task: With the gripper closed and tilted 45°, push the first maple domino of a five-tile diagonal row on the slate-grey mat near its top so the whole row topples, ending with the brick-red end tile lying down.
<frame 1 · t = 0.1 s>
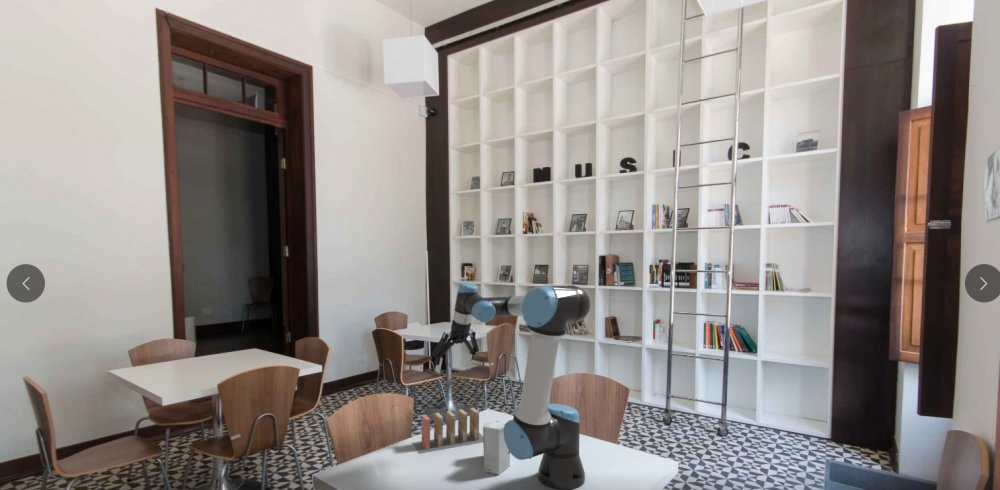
hand: (452, 369, 178), 28 cm above the table, tool tilted 20°, fingers open, 13 cm apart
domino 2: (462, 440, 176), resting on mat
skincare box 2: (492, 459, 159), on the table
domino 4: (438, 444, 171), resting on mat
domino 5: (425, 446, 169), resting on mat
skincare box: (497, 469, 152), on the table
domino 1: (474, 437, 178), resting on mat
domino 3: (450, 442, 174), resting on mat
mat: (450, 443, 174), on the table
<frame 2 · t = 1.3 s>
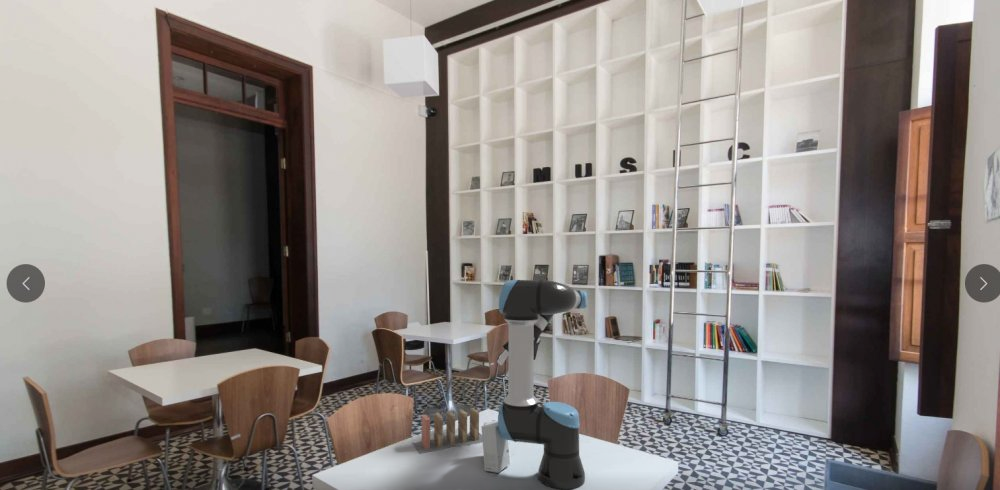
hand: (508, 367, 185), 27 cm above the table, tool tilted 40°, fingers open, 13 cm apart
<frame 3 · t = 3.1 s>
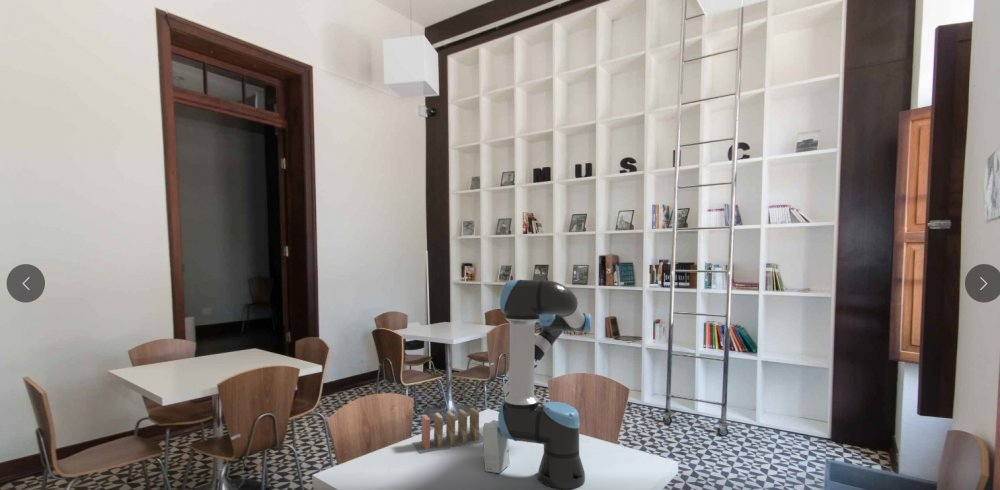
hand: (503, 391, 185), 17 cm above the table, tool tilted 45°, fingers closed
skincare box 2: (492, 459, 159), on the table, touching skincare box
skincare box: (497, 468, 152), on the table, touching arm, skincare box 2
everything else where it was.
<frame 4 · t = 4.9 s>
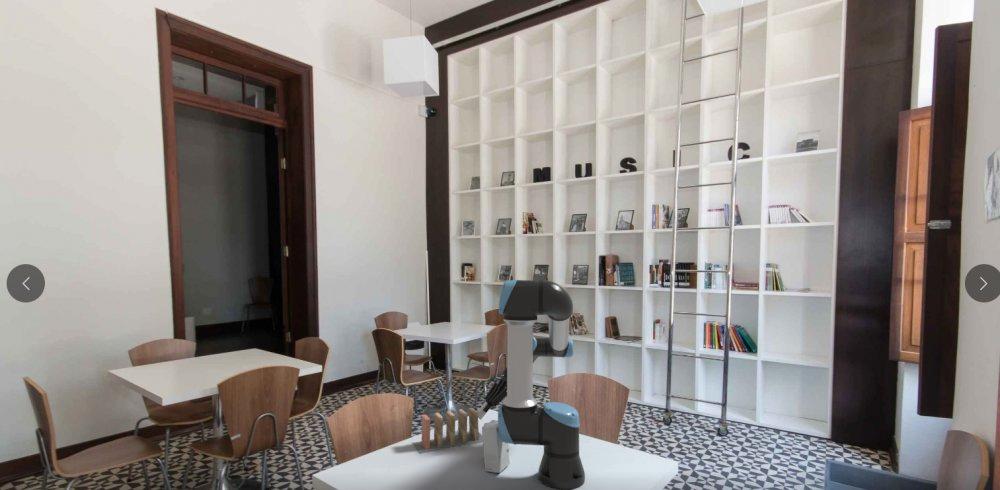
hand: (477, 417, 179), 8 cm above the table, tool tilted 45°, fingers closed
skincare box: (497, 468, 152), on the table, touching skincare box 2
domino 1: (474, 437, 178), resting on mat, touching gripper
everything else where it was.
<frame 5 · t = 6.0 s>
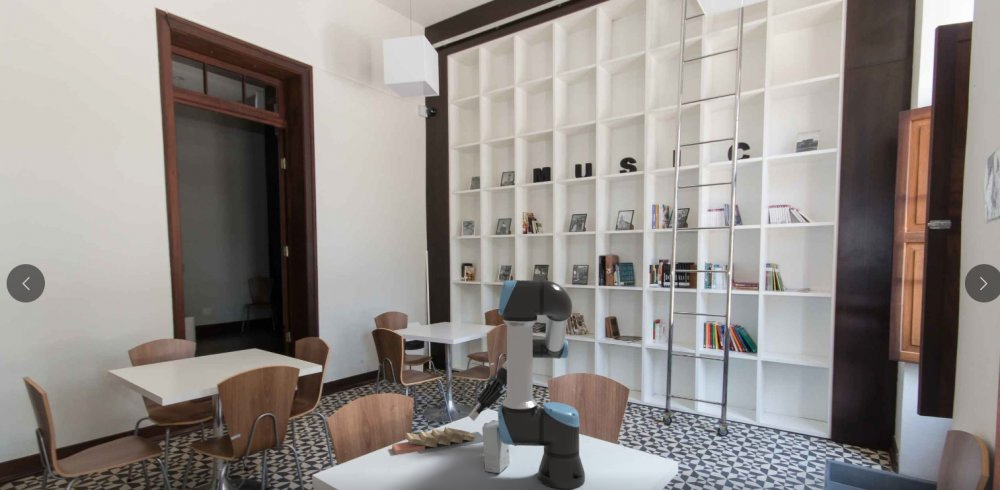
hand: (471, 418, 177), 8 cm above the table, tool tilted 45°, fingers closed
domino 2: (459, 438, 175), point 1 cm above the table, tilted 71°, touching domino 1, domino 3, mat
domino 4: (434, 442, 171), point 1 cm above the table, tilted 71°, touching domino 3, domino 5
domino 5: (422, 444, 169), point 1 cm above the table, tilted 90°, touching domino 4, mat
skincare box: (497, 468, 152), on the table, touching arm, skincare box 2
domino 1: (471, 436, 177), point 1 cm above the table, tilted 71°, touching domino 2, mat
domino 3: (447, 440, 173), point 1 cm above the table, tilted 71°, touching domino 2, domino 4, mat
everything else where it was.
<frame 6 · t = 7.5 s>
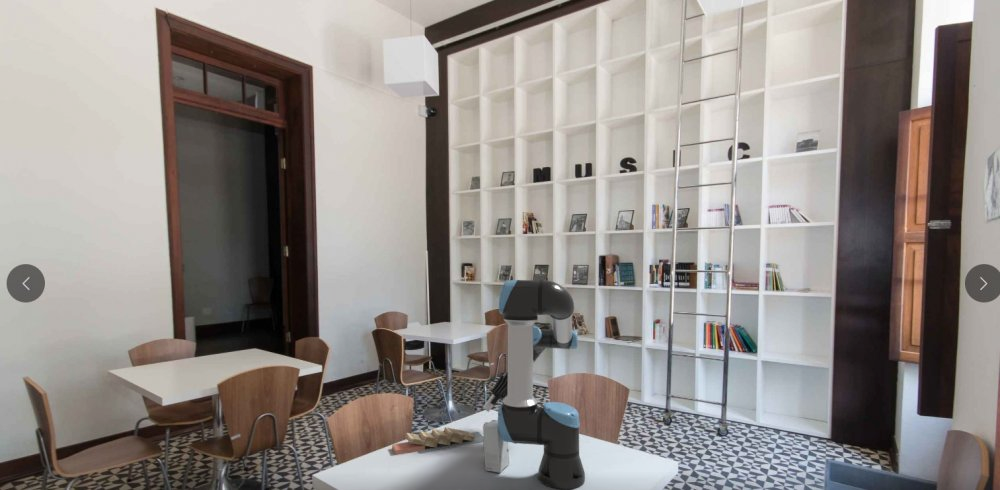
hand: (485, 409, 180), 11 cm above the table, tool tilted 45°, fingers closed
skincare box: (497, 467, 152), on the table, touching skincare box 2
everything else where it was.
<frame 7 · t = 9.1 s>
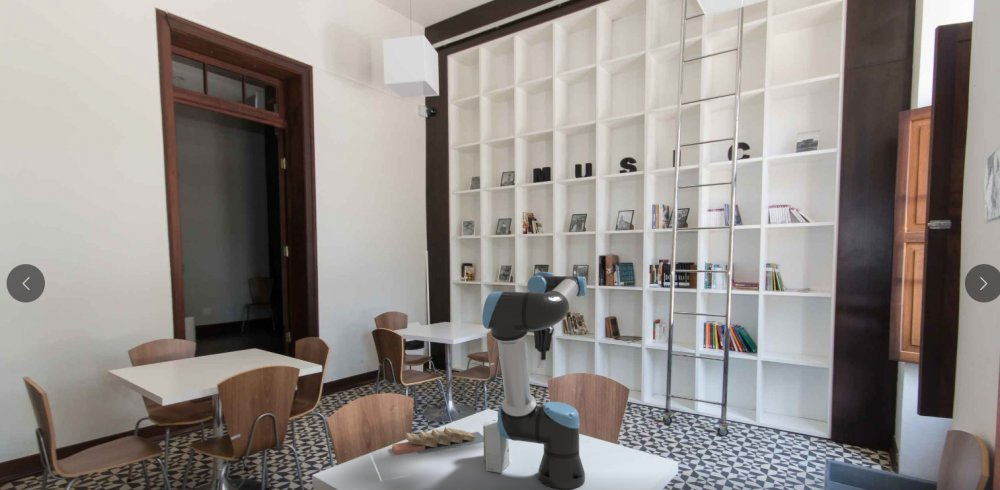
hand: (541, 367, 180), 28 cm above the table, tool pointing down, fingers closed
skincare box 2: (492, 459, 159), on the table
skincare box: (497, 467, 153), on the table
everything else where it was.
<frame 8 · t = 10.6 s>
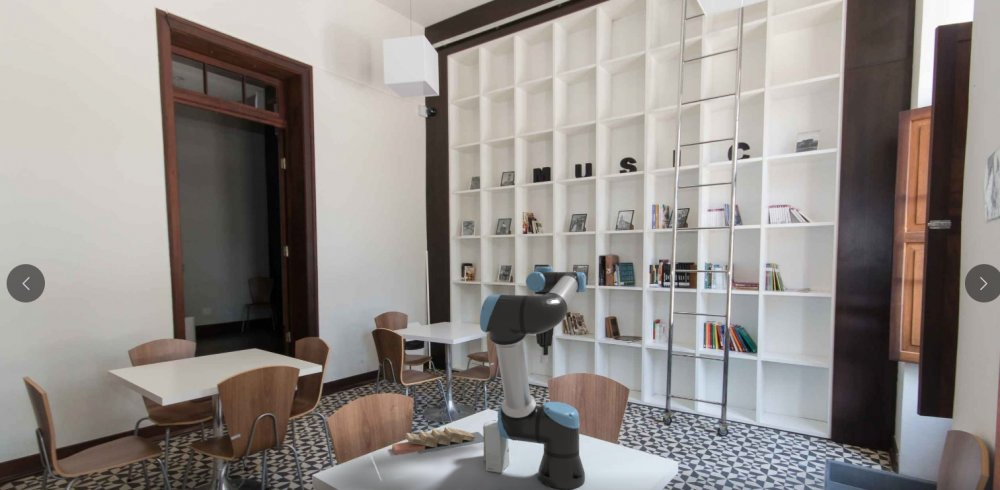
hand: (544, 362, 179), 30 cm above the table, tool pointing down, fingers closed
skincare box 2: (492, 459, 159), on the table, touching skincare box
skincare box: (497, 467, 153), on the table, touching arm, skincare box 2
everything else where it was.
at the end: domino 5 tilted 90°; domino 3 tilted 71° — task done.
